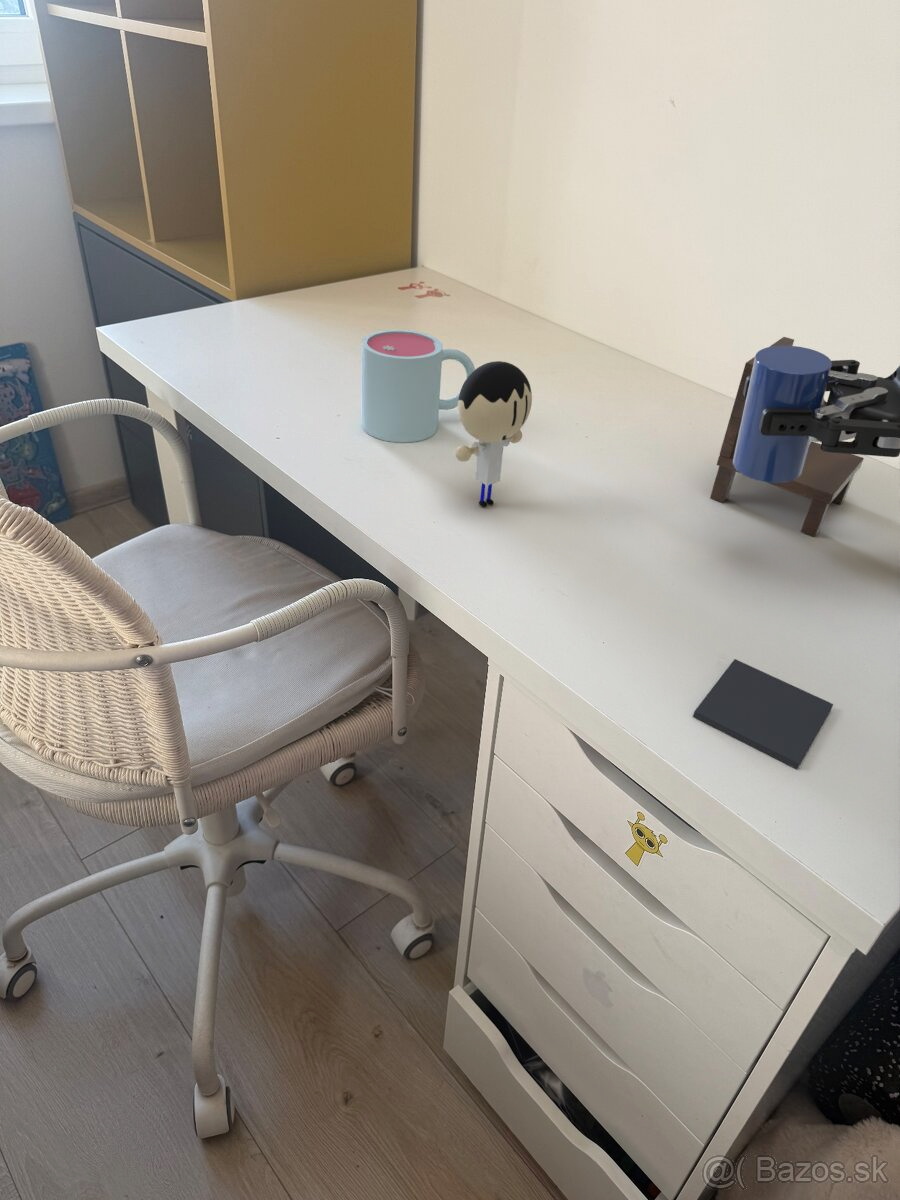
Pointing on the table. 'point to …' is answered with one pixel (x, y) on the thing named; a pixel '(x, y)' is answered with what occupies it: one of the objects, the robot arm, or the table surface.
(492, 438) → the toy
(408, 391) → the mug
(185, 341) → the table surface
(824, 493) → the miniature wooden chair
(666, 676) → the table surface
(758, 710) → the mat
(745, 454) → the canister
